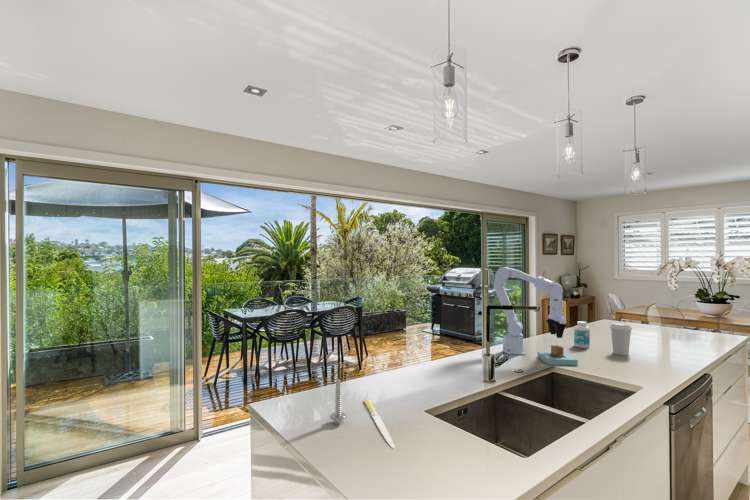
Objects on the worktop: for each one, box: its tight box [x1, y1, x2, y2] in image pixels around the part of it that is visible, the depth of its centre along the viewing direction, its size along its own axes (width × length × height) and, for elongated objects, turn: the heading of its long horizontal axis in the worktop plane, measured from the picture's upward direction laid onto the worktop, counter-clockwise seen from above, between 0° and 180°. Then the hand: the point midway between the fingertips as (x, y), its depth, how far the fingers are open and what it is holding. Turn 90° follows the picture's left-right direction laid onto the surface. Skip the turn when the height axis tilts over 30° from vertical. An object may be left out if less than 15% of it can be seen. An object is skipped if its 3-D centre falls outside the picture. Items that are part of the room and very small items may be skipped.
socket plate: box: [537, 351, 579, 366], centre depth 178 cm, size 13×13×2 cm
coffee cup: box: [609, 322, 633, 356], centre depth 192 cm, size 10×10×15 cm
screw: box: [329, 379, 347, 426], centre depth 113 cm, size 13×5×5 cm
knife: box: [363, 398, 396, 450], centre depth 115 cm, size 1×33×5 cm
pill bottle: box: [573, 320, 591, 349], centre depth 206 cm, size 8×7×14 cm
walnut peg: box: [550, 344, 564, 357], centre depth 178 cm, size 4×4×7 cm
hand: (556, 336), depth 185 cm, fingers open, 7 cm apart
